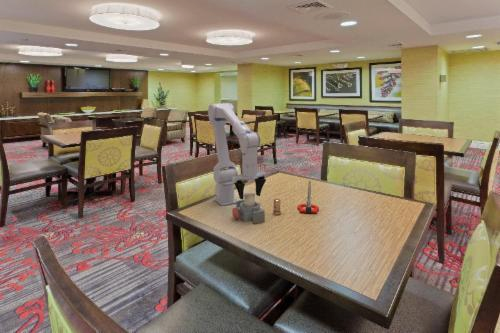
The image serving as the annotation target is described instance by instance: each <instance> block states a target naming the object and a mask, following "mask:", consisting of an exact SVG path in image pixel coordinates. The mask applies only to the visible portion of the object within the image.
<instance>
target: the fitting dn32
mask: <svg viewBox="0 0 500 333" xmlns="http://www.w3.org/2000/svg"><path fill="white" fill-rule="evenodd" d="M272 204H273V209H272V215H274V216H280V215H281V214H282V210H281V198H274V199H273V203H272Z"/></svg>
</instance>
